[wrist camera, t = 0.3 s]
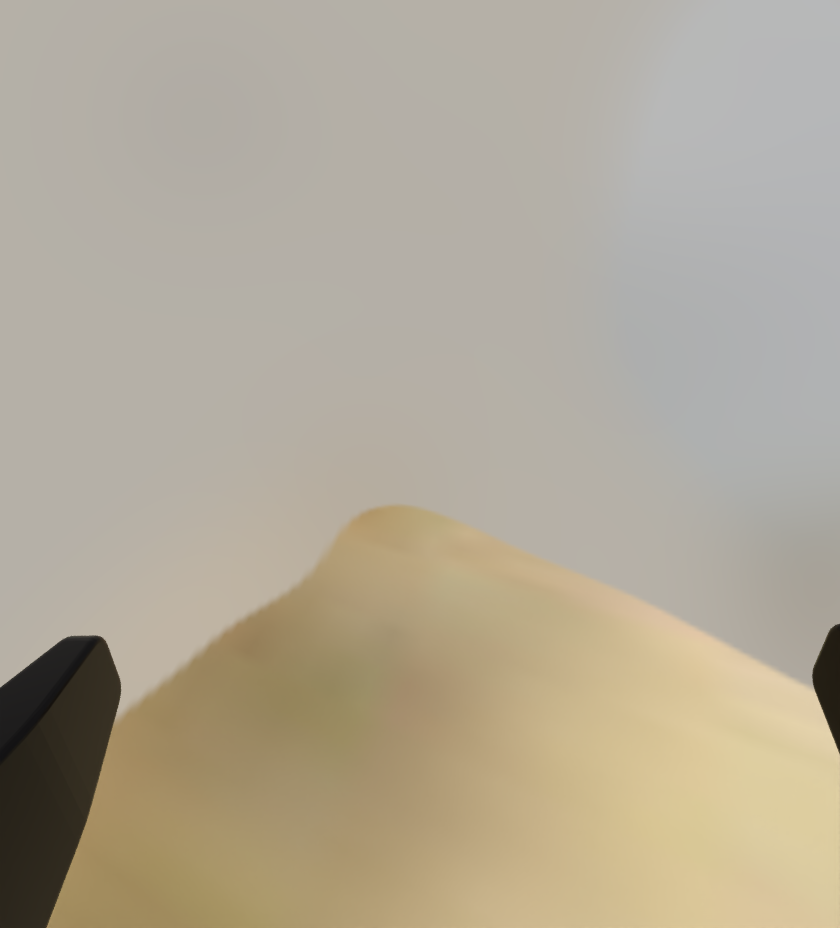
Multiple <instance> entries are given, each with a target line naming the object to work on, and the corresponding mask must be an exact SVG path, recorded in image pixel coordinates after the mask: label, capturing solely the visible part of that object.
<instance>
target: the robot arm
mask: <svg viewBox="0 0 840 928" xmlns="http://www.w3.org/2000/svg"><path fill="white" fill-rule="evenodd" d="M812 678H813V685H814V689H815V692H816V694H817V697H818V700H819V702H820V705H821V707H822V710H823V712H824V715H825V718H826V720H827V723H828V725H829V728H830V730H831V733H832V736H833V738H834V741H835V743H836V746H837V749H838V751H839V754H840V624H837V625H835V626H834V627H832V628H831V629H830V631H829V633H828V635H827V637H826V640H825V642H824V644H823V647H822V649H821V651H820V653H819V656H818V658H817V660H816V663H815V665H814V668H813V674H812ZM120 695H121V682H120V678H119V675H118V672H117V670H116V667H115V664H114V661H113V659H112V656H111V653H110V650H109V648H108V645H107V643H106V641H105V640H104V639H103V638H102V637H100V636H70V637H67V638H65V639H63V640H61V641H60V642H59V643H57V644H56V645H55V646H53V647H52V648H51V649H50V650H48V651H47V652H46V653H44V654H43V655H42V656H40V657H39V658H38V659H37V660H35V661H34V662H33V663H31V664H30V665H29V666H28V667H26V668H25V669H24V670H23V671H21V672H20V673H19V674H17V675H16V676H15V677H14V678H12V679H11V680H10V681H8V682H7V683H6V684H4V685H3V686H2V687H0V928H46V927H47V924H48V922H49V919H50V917H51V914H52V911H53V909H54V906H55V904H56V901H57V898H58V896H59V893H60V891H61V888H62V885H63V883H64V880H65V878H66V875H67V872H68V870H69V867H70V865H71V862H72V859H73V857H74V854H75V852H76V849H77V846H78V844H79V841H80V838H81V835H82V833H83V830H84V827H85V824H86V821H87V818H88V815H89V811H90V808H91V805H92V801H93V797H94V794H95V790H96V786H97V783H98V779H99V775H100V771H101V768H102V764H103V760H104V757H105V753H106V749H107V746H108V742H109V738H110V734H111V731H112V727H113V723H114V720H115V716H116V712H117V708H118V705H119V700H120Z"/></svg>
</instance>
